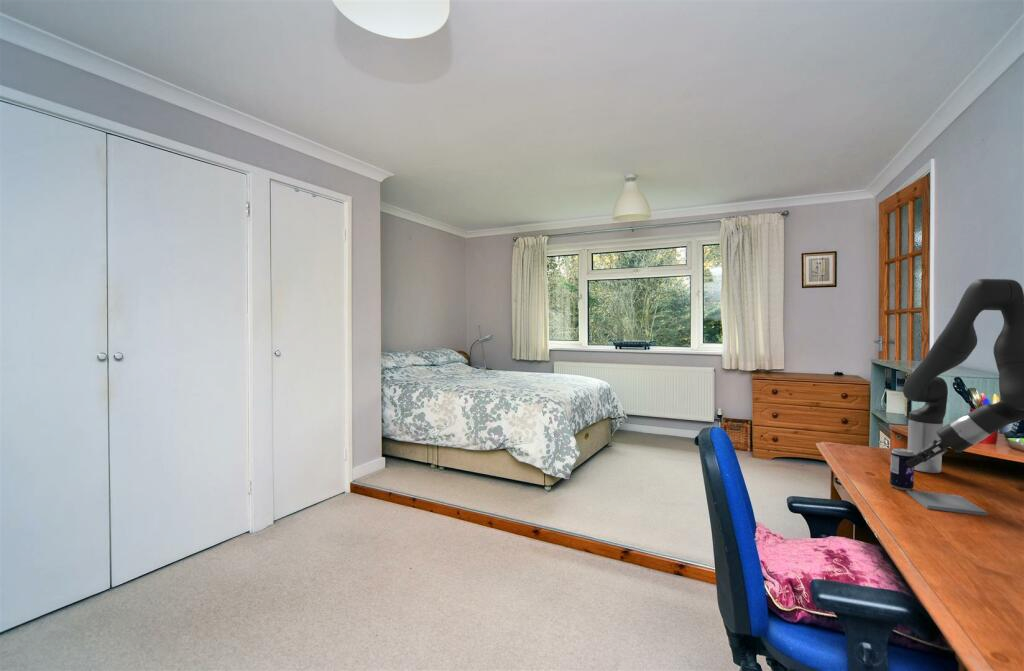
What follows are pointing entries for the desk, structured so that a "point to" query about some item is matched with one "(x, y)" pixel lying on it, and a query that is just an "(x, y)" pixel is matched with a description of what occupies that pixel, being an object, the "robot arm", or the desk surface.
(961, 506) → the slate tile
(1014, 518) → the desk surface
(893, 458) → the beverage can
